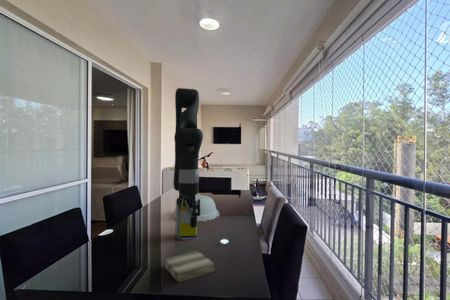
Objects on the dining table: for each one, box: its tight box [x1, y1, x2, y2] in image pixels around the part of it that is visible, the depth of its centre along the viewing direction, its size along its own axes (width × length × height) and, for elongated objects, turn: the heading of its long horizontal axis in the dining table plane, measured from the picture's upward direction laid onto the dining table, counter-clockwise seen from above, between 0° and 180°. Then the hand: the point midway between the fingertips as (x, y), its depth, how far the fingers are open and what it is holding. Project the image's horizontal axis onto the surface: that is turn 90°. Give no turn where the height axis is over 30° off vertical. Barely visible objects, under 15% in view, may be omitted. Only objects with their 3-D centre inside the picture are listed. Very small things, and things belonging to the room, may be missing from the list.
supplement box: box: [180, 206, 198, 239], centre depth 93 cm, size 6×6×11 cm
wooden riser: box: [164, 250, 215, 283], centre depth 93 cm, size 14×14×3 cm
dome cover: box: [173, 194, 220, 222], centre depth 170 cm, size 32×30×14 cm
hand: (188, 224), depth 93 cm, fingers closed on supplement box, 8 cm apart
